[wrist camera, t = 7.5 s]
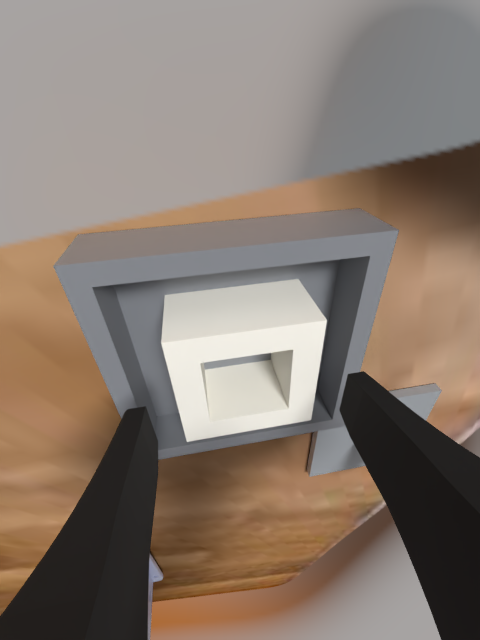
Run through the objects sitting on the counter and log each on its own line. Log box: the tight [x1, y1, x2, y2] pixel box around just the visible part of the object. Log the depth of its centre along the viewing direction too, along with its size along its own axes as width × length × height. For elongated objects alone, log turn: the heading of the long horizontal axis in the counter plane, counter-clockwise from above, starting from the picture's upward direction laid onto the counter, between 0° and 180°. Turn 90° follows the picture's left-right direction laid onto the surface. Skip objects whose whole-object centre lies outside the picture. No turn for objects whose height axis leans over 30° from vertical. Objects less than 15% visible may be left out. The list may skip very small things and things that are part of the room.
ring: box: [161, 279, 327, 442], centre depth 13 cm, size 6×6×3 cm
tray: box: [54, 208, 399, 460], centre depth 13 cm, size 11×11×3 cm
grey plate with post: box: [307, 384, 442, 477], centre depth 19 cm, size 8×8×5 cm
